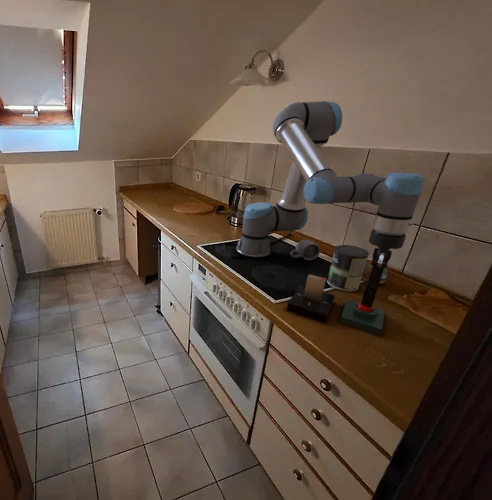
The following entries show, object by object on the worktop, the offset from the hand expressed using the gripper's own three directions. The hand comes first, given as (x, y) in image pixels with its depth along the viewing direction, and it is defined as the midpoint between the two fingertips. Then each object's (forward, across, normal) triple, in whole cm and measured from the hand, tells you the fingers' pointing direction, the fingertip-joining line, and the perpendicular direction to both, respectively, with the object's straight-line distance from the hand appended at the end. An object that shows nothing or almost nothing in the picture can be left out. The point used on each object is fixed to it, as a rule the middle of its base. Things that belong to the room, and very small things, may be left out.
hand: (366, 304), depth 90 cm
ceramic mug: (+5, +39, +26) cm, 47 cm away
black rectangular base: (+5, -2, +14) cm, 15 cm away
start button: (+2, 0, 0) cm, 2 cm away
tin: (+6, +31, +2) cm, 32 cm away
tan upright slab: (+2, -2, +14) cm, 14 cm away
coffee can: (+6, +21, +8) cm, 23 cm away
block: (+5, 0, 0) cm, 5 cm away
